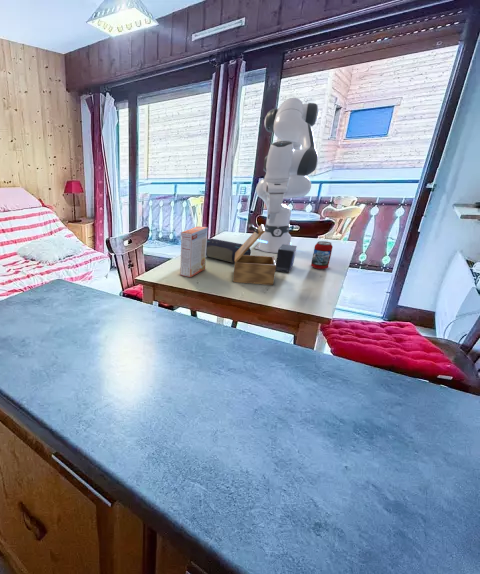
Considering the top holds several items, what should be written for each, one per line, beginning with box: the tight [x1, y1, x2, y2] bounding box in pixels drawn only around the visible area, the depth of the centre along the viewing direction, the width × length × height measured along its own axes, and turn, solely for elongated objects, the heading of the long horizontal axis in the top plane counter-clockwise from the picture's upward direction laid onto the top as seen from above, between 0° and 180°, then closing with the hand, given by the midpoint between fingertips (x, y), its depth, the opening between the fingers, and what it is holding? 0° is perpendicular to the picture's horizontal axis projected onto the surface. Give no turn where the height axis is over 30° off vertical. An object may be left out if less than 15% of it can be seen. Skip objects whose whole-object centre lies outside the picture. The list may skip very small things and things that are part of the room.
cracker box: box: [179, 225, 208, 278], centre depth 152 cm, size 14×6×21 cm, turn 134°
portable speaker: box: [206, 238, 252, 264], centre depth 169 cm, size 25×10×10 cm, turn 36°
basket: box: [232, 254, 276, 286], centre depth 143 cm, size 16×13×9 cm
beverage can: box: [310, 240, 333, 270], centre depth 150 cm, size 7×7×12 cm
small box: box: [275, 244, 297, 273], centre depth 152 cm, size 11×6×10 cm, turn 143°
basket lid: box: [235, 222, 265, 262], centre depth 140 cm, size 17×13×5 cm
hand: (270, 220), depth 134 cm, fingers open, 8 cm apart
